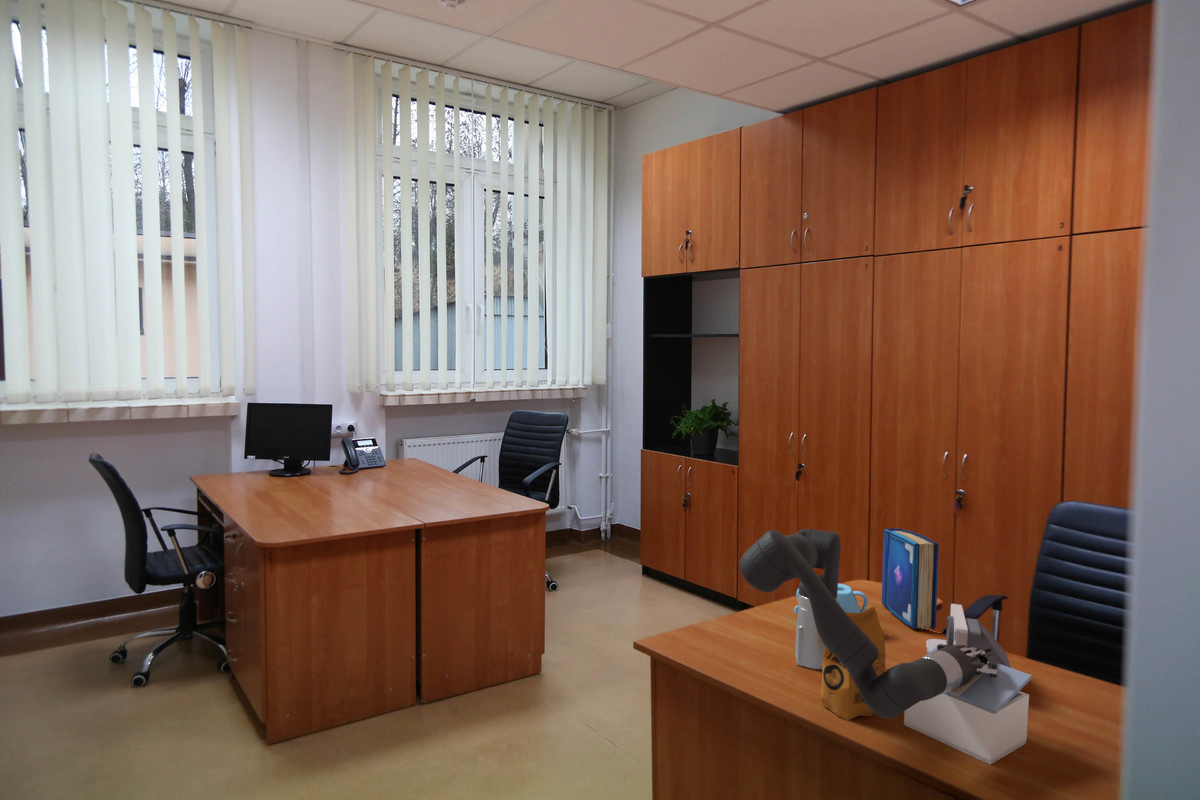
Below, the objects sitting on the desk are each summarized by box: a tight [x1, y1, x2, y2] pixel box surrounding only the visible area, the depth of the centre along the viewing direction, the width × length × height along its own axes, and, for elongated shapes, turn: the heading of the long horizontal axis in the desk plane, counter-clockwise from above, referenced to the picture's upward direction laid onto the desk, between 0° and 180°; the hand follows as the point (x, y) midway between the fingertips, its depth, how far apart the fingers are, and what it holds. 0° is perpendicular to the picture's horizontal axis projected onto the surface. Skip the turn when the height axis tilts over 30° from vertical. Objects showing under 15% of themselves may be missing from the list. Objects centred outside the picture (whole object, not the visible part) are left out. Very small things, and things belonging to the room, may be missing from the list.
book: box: [881, 527, 940, 630], centre depth 219 cm, size 22×7×25 cm, turn 5°
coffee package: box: [820, 605, 886, 721], centre depth 163 cm, size 10×12×22 cm
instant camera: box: [925, 603, 1012, 668], centre depth 180 cm, size 21×21×15 cm
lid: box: [928, 643, 1033, 714], centre depth 152 cm, size 14×19×1 cm
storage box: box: [903, 690, 1030, 766], centre depth 153 cm, size 14×18×10 cm
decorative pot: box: [793, 582, 869, 616], centre depth 210 cm, size 16×16×14 cm
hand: (988, 650), depth 157 cm, fingers closed
